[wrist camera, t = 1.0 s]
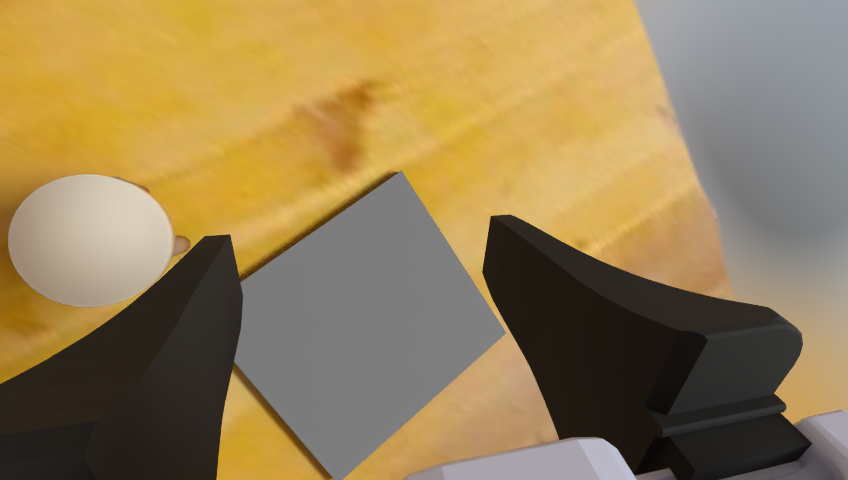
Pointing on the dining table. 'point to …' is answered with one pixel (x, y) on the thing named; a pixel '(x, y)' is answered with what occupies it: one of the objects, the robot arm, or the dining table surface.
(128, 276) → the stool
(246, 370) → the mat
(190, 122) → the dining table surface
